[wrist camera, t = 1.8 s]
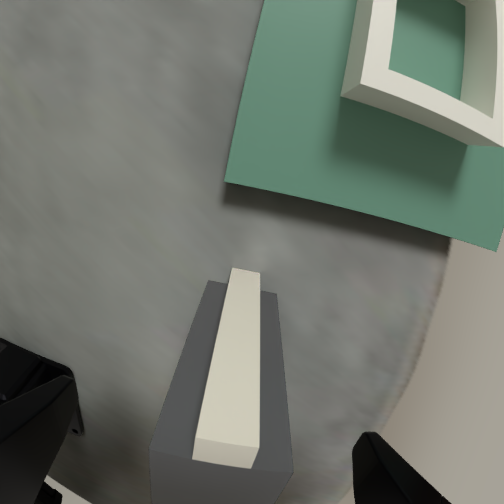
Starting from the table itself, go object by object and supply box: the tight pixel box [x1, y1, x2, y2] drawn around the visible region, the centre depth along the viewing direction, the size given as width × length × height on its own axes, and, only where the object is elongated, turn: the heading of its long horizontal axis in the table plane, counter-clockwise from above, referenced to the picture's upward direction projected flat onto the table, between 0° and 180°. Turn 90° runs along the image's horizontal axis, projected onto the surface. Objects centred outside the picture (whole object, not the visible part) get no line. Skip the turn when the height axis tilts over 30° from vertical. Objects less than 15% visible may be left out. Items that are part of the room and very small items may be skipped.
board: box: [224, 0, 504, 252], centre depth 9 cm, size 16×13×4 cm
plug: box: [149, 268, 293, 504], centre depth 10 cm, size 5×3×9 cm, turn 169°
